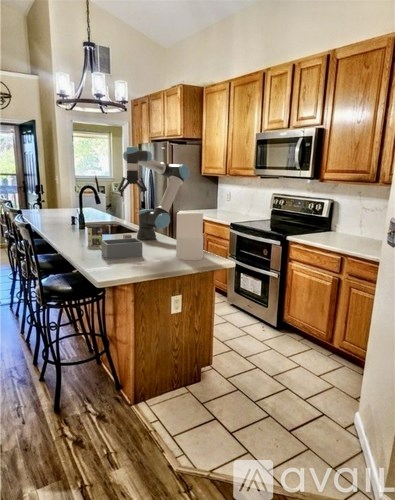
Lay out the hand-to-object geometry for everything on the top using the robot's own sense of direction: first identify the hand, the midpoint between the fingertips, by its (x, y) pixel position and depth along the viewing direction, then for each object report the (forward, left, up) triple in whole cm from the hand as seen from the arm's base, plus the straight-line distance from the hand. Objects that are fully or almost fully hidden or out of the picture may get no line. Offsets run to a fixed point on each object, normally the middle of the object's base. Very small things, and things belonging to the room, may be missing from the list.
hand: (132, 201), depth 246 cm
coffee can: (+24, -12, -32) cm, 42 cm away
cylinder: (-24, +42, -32) cm, 58 cm away
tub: (+16, +27, -32) cm, 45 cm away
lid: (+13, +8, -32) cm, 36 cm away
